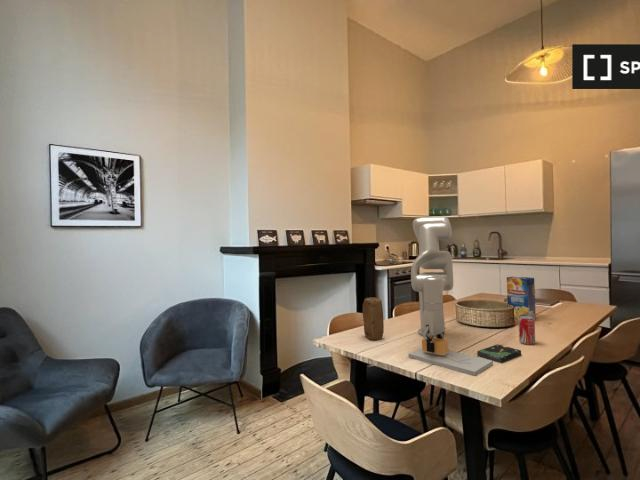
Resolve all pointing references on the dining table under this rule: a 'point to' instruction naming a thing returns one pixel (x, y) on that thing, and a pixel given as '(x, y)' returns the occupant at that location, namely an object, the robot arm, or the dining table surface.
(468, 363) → the board
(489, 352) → the disk drive
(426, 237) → the robot arm
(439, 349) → the block
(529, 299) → the juice carton
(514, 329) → the dining table surface
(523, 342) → the soda can
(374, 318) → the block
